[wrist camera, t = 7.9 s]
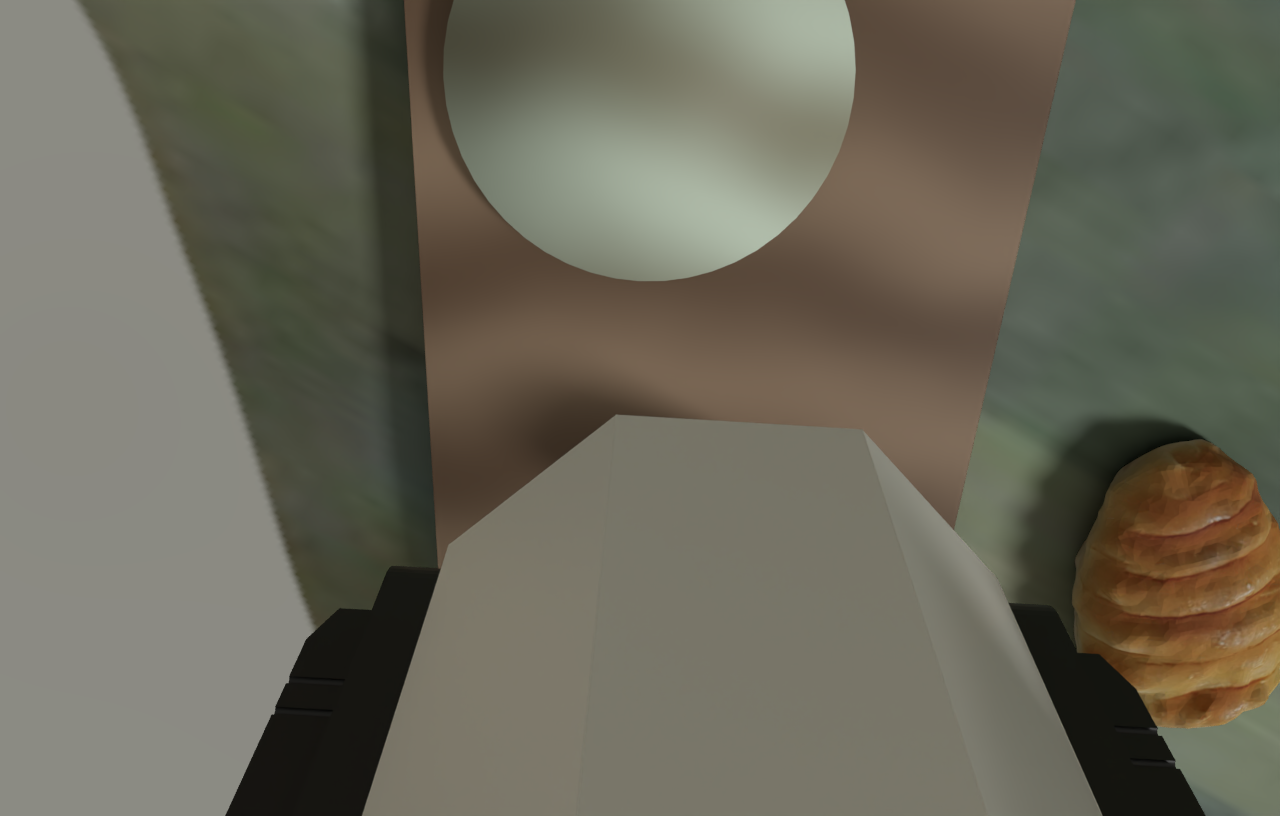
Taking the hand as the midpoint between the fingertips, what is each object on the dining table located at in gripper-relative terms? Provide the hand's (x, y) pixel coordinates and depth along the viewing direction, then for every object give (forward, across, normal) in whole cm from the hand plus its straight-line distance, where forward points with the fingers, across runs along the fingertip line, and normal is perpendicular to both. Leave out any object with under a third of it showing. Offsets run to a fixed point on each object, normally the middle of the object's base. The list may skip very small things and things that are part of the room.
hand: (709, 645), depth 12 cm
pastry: (+18, -16, +12) cm, 28 cm away
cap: (0, 0, 0) cm, 0 cm away
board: (+18, -1, +3) cm, 19 cm away
